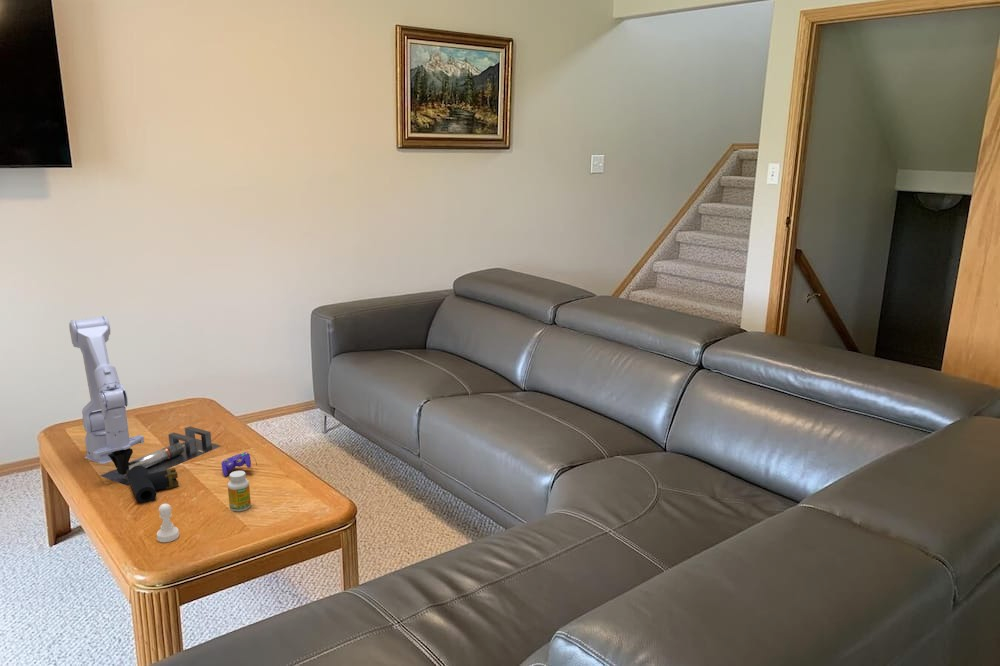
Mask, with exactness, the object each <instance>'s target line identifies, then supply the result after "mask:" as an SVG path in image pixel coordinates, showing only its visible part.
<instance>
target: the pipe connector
mask: <svg viewBox="0 0 1000 666" xmlns="http://www.w3.org/2000/svg"><path fill="white" fill-rule="evenodd" d="M128 478H129V480H130V483H131V485H130V486H131V489H132V491H133V493H134V497H135V499H136V501H137V503H138V504H147V503H151V502H154V501H155V499H156V498H157V491H162V490H168V489H173V488H177V487H179V481H178V478H179V476H178V472H177V471H176V468H175V467H171V468H169V469H166V470H162V471H160V472H155V473H150V474H148V472H147V469H146V468H145V467H143V466H134V467H133V468H131V469H130V470H129V472H128Z"/></svg>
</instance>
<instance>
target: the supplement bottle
mask: <svg viewBox="0 0 1000 666" xmlns="http://www.w3.org/2000/svg"><path fill="white" fill-rule="evenodd" d="M229 476H230V479H229V481H228V483H227V491H228V494H227V495H228V502H229V503H228V505H229V510H231V511H232V512H243V511H246V510H248V509H250V507H251V506H252V502H251V489H250V481H249V480H248V479H247V477H246V476H247V474H246V472H245V471H244V470H235V471H231V472H230V473H229Z"/></svg>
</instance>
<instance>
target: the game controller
mask: <svg viewBox="0 0 1000 666" xmlns="http://www.w3.org/2000/svg"><path fill="white" fill-rule="evenodd" d="M251 456H252V454H250V453H249V452H247V451H245V452H242V453H239V454H238V453H237V454H235V455H234V456H230V457H228V458H224V459H223V460H222V461H221V469H222V470H221V471H222V474H223V476H224V477H228V475H229V471H230V472H233V470H234V469H236V471H239V469H238V468H242V467H243V466H244V465H246V467H247V469H250V468H251V467H252V466H251V465H252V460H251ZM253 459H254V461H255V463H256V465H258V464H257V460H256V458H255V457H253ZM236 467H238V468H236ZM228 479H229V480H230V475H229V477H228Z"/></svg>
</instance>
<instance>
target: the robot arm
mask: <svg viewBox="0 0 1000 666" xmlns="http://www.w3.org/2000/svg"><path fill="white" fill-rule="evenodd" d="M68 324H69V333H70V338H71V339H70V340H71V343H72V347H74V348H77V349H80V352H81V354H82V358H83V364H84V369H85V374H86V375H85V376H86V380H87V386H88V392H89V397H90V401H89V402H88V403H87V404H86V405H85V406H84V407H83V408H82V410H81V412H82V413H81V414H82V424H83V428H84V431H85V433H86V434H85V437H84V441H85V448H86V454H87V456H85V457H84V459H87V460H90V461H92V462H95V463H98V464H101V465H106V464H107V463H110V462H112V463H113V464H114V466H115V469H117V471H118V473H119V474H121V475H124V474H126V473H127V467H128V462H130V459H131V457H132V455H133V452H134V451H133V449H132V448H131V447H134V446H135V445H138V444H143V443H145V436H144V435H140V434H139V435H135V436H131V437H130V432H129V425H128V415H127V407H128V405H129V403H128V396H127V392H126V389H125V387H124V385H123V384H122V383H121V382H120V379H119V376H118V373H117V372H118V371H117V369H116V367H115V366H113V365H112V364H110V361H109V360H110V359H109V354H108V349H107V345H106V343H107V342H109V340H110V339H109V338H110V335H111V324H110V321H109V319H108V317H106V316H105V315H103V316H99V317H93V318H92V317H91V318H84V319H76V320H74V319H72V320H70V321H69V323H68Z"/></svg>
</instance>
